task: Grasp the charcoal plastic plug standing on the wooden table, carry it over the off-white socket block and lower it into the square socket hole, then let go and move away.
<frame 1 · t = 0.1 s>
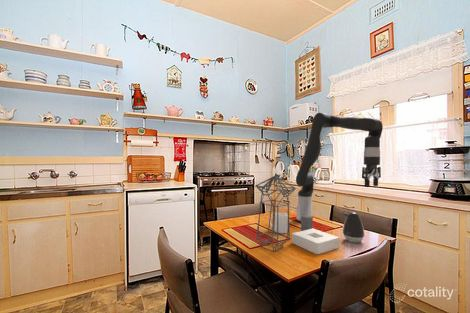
hand: (371, 186, 123), 29 cm above the table, fingers open, 8 cm apart
mug: (278, 231, 137), on the table
dark grey rounded cone: (352, 241, 123), on the table
socket block: (315, 245, 116), on the table
plug: (306, 233, 133), on the table
geometric lantern: (274, 247, 112), on the table
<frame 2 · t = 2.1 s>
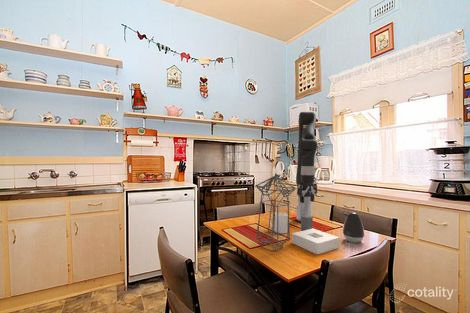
hand: (307, 202, 133), 18 cm above the table, fingers open, 8 cm apart
nothing on the table moved.
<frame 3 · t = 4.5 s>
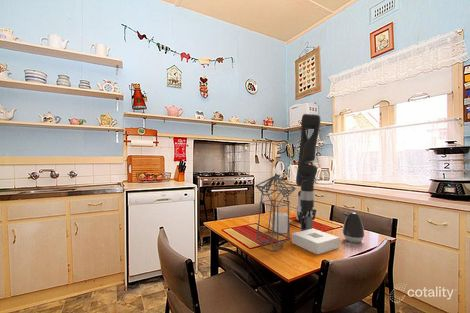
hand: (306, 228, 133), 3 cm above the table, fingers closed on plug, 4 cm apart
plug: (306, 233, 133), on the table, touching gripper
everything else where it was.
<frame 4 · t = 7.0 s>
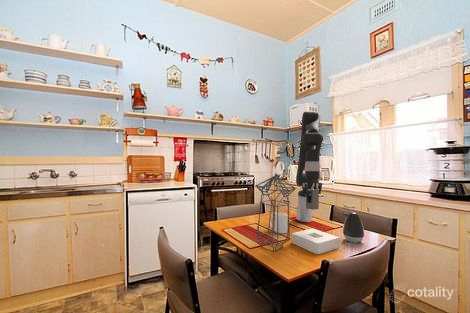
hand: (312, 202, 122), 20 cm above the table, fingers closed on plug, 4 cm apart
plug: (312, 208, 122), point 17 cm above the table, touching gripper
everything else where it was.
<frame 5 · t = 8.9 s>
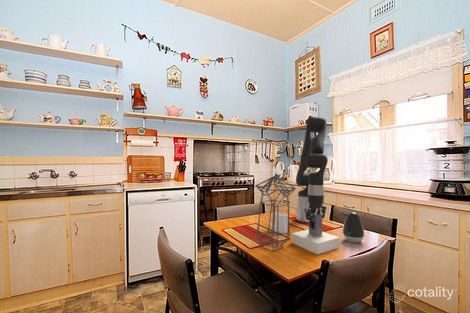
hand: (315, 227, 116), 9 cm above the table, fingers closed on plug, 4 cm apart
plug: (315, 234, 116), point 6 cm above the table, touching gripper
everything else where it was.
when the fingers open (7 cm above the table, at t = 10.1 s): plug drops 3 cm, resting in socket block.
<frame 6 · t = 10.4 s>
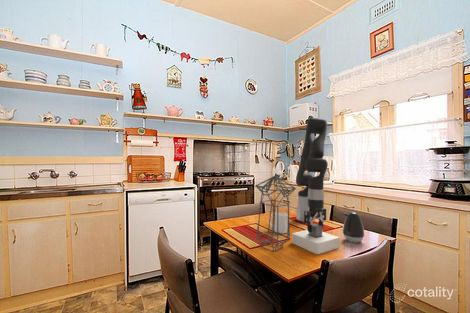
hand: (315, 230, 116), 7 cm above the table, fingers open, 7 cm apart
plug: (315, 245, 116), resting in socket block
everything else where it was.
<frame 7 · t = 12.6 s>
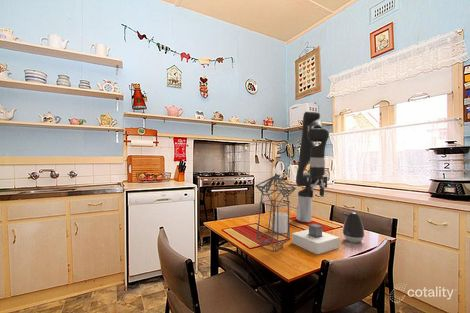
hand: (316, 196, 122), 23 cm above the table, fingers open, 8 cm apart
nothing on the table moved.
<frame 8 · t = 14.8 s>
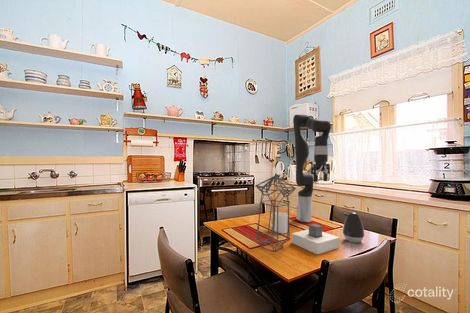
hand: (320, 181, 136), 30 cm above the table, fingers open, 8 cm apart
nothing on the table moved.
at the end: plug 0.1 cm off-centre on the socket block, point 0.0 cm above the socket block's base; plug tilted 0°; the gripper is holding nothing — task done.
